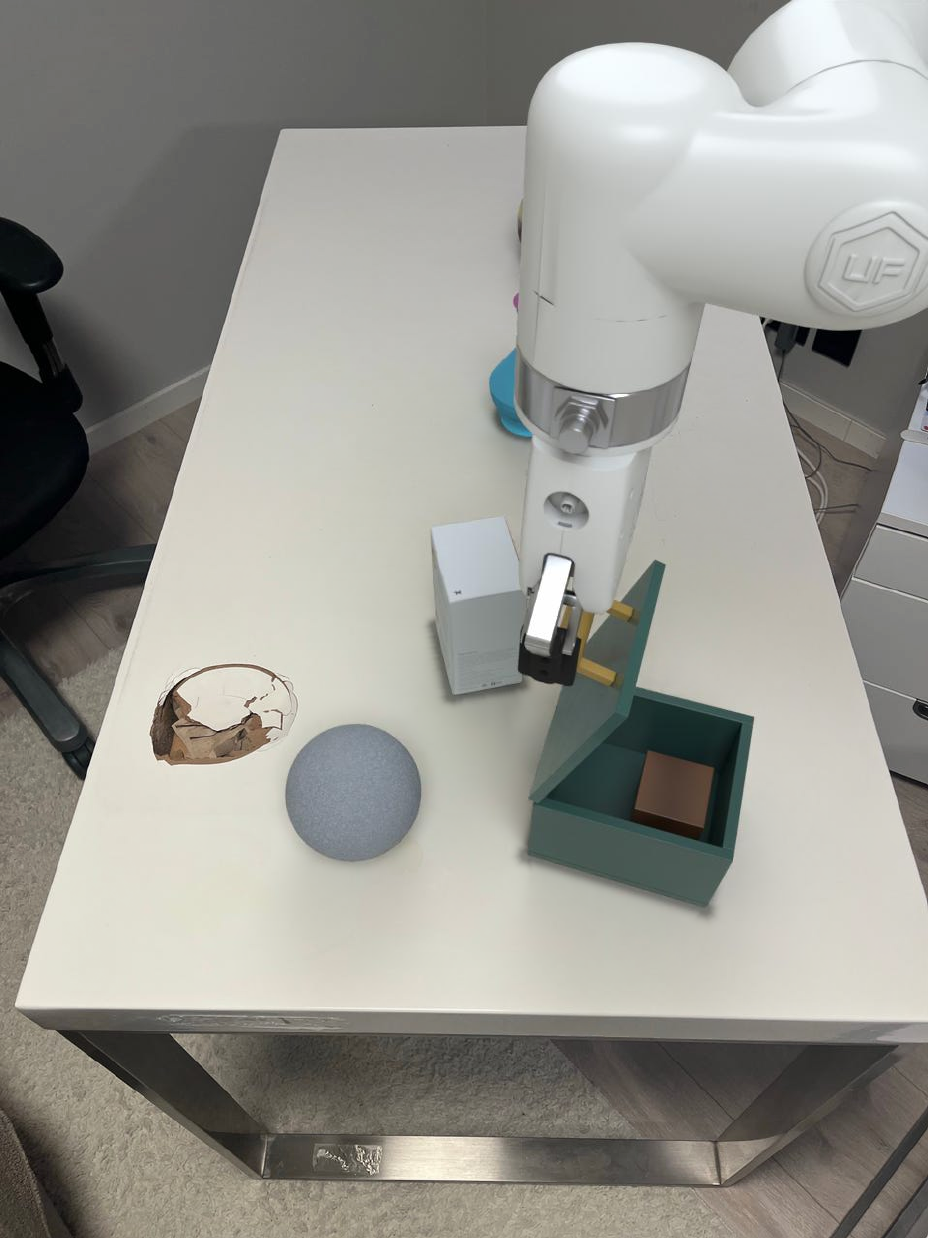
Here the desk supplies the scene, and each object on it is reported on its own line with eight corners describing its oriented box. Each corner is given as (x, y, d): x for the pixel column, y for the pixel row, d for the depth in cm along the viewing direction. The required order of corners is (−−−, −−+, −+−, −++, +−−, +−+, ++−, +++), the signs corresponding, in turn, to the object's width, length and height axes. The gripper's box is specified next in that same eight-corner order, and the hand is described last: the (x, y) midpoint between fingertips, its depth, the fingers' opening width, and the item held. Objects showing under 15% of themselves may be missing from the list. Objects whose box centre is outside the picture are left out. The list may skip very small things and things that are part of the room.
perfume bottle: (568, 388, 102) (580, 267, 90) (576, 444, 96) (589, 322, 84) (487, 390, 102) (488, 269, 90) (490, 446, 96) (491, 325, 84)
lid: (666, 564, 56) (597, 532, 56) (628, 717, 50) (549, 682, 49) (578, 669, 68) (520, 643, 68) (538, 804, 61) (474, 775, 61)
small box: (523, 684, 78) (530, 589, 68) (452, 697, 77) (447, 604, 67) (502, 611, 83) (505, 513, 72) (434, 623, 82) (427, 525, 72)
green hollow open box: (728, 772, 73) (754, 716, 66) (706, 908, 66) (732, 862, 59) (564, 728, 75) (573, 670, 68) (527, 855, 69) (532, 804, 62)
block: (701, 797, 70) (714, 767, 66) (691, 855, 68) (704, 828, 64) (638, 780, 71) (647, 749, 67) (625, 837, 69) (634, 808, 65)
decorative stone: (447, 841, 69) (443, 782, 61) (330, 906, 67) (309, 853, 59) (388, 743, 75) (377, 677, 67) (277, 799, 72) (251, 737, 64)
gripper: (646, 531, 34) (596, 751, 48) (714, 281, 44) (657, 523, 58) (457, 489, 35) (461, 714, 49) (564, 256, 45) (543, 497, 59)
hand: (567, 610), depth 53 cm, fingers open, 9 cm apart
